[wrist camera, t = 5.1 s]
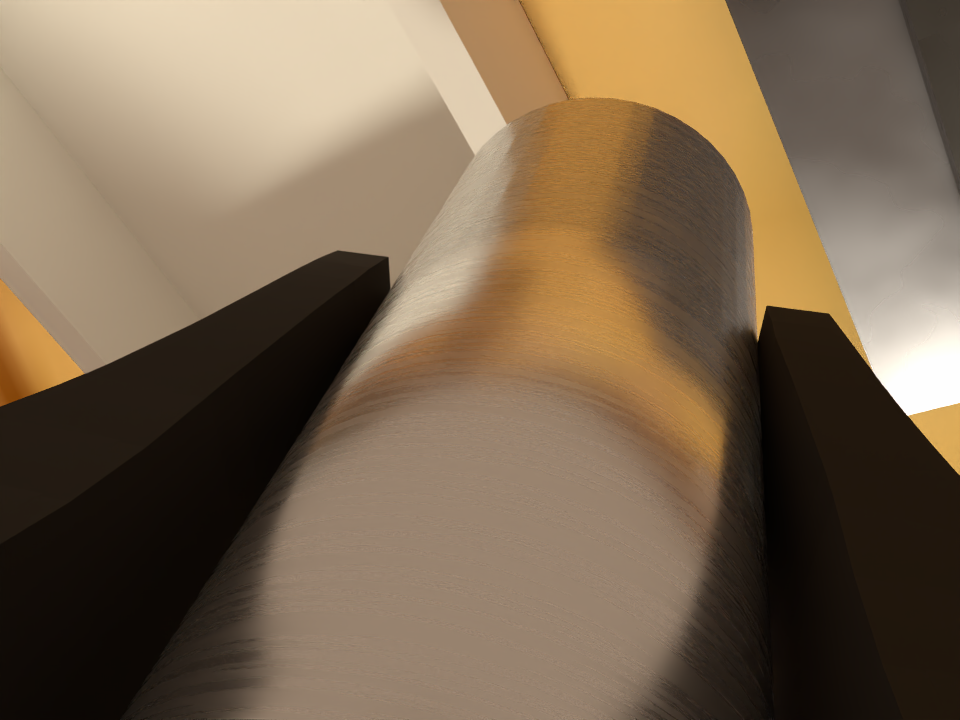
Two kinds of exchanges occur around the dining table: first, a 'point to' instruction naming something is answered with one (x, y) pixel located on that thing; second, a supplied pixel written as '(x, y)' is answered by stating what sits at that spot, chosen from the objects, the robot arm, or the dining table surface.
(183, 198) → the bin
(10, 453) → the robot arm
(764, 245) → the dining table surface
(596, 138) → the metal cylinder
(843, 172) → the socket plate
